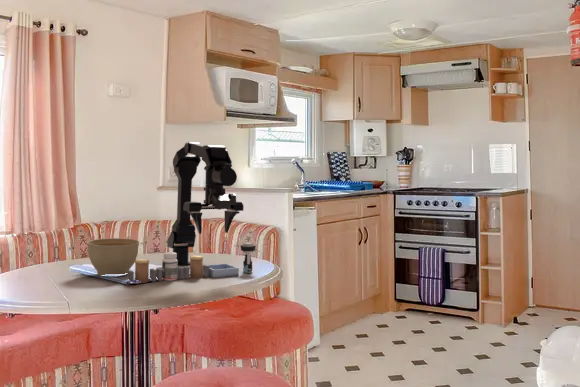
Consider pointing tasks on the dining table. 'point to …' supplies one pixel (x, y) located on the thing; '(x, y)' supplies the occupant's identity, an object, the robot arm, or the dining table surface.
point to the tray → (223, 270)
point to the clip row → (180, 273)
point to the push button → (247, 256)
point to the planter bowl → (112, 255)
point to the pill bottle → (169, 266)
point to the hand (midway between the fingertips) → (213, 233)
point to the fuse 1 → (142, 270)
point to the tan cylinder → (196, 266)
